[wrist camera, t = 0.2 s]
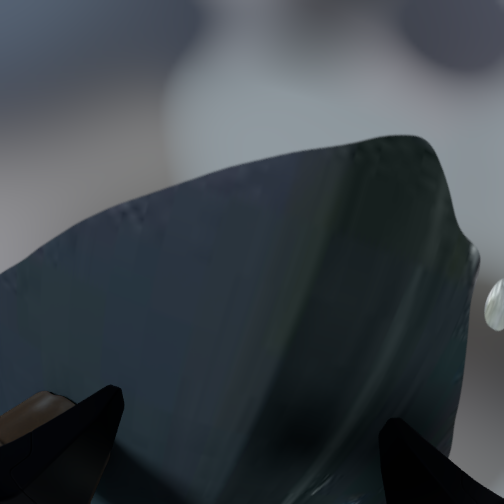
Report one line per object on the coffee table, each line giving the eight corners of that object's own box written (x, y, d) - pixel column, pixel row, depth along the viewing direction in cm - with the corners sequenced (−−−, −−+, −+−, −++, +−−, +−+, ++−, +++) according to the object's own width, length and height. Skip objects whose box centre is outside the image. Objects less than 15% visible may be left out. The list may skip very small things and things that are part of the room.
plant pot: (105, 488, 25) (66, 562, 9) (17, 418, 24) (-44, 471, 8) (147, 440, 24) (95, 551, 8) (34, 348, 23) (-64, 406, 7)
